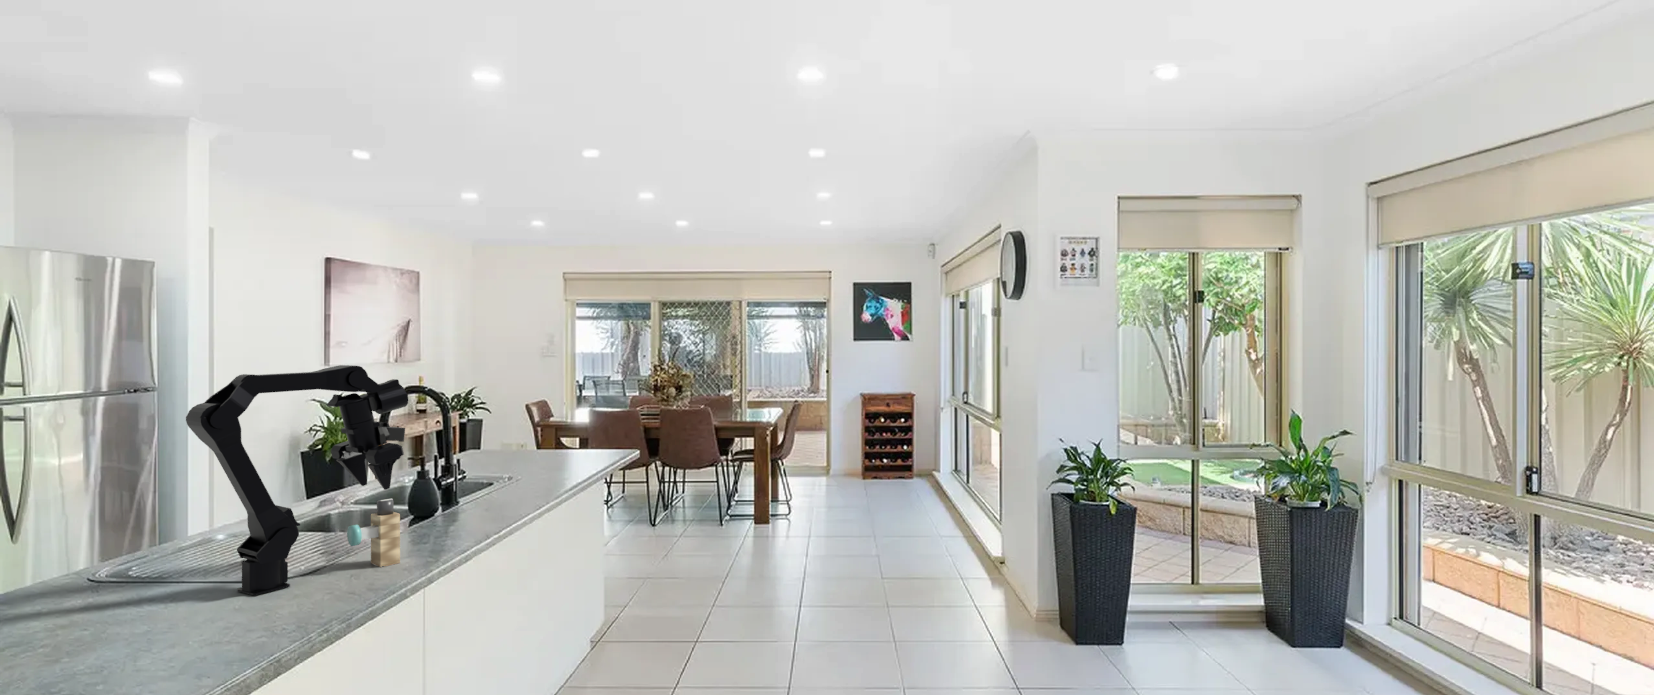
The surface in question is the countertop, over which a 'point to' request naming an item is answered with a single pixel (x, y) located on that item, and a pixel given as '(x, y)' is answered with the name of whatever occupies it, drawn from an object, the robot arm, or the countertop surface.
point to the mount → (386, 540)
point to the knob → (361, 533)
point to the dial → (385, 507)
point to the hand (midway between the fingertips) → (375, 487)
